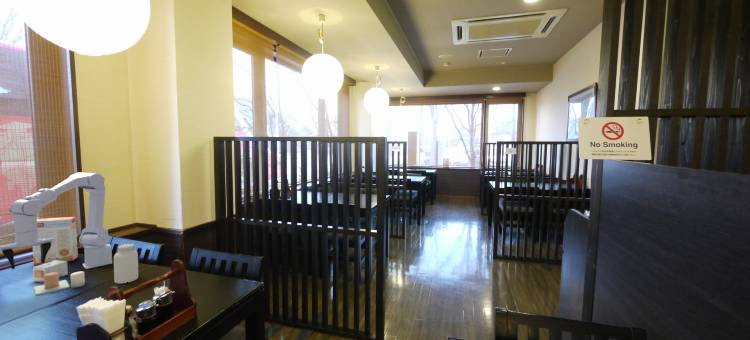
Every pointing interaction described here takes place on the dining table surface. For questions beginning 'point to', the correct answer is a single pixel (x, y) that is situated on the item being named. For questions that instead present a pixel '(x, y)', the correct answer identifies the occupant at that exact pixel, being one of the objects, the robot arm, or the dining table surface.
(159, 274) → the dining table surface
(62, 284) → the pad
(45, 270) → the block
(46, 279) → the terracotta peg
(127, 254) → the pill bottle
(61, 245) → the cracker box
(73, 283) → the ivory peg
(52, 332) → the dining table surface
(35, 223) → the robot arm
